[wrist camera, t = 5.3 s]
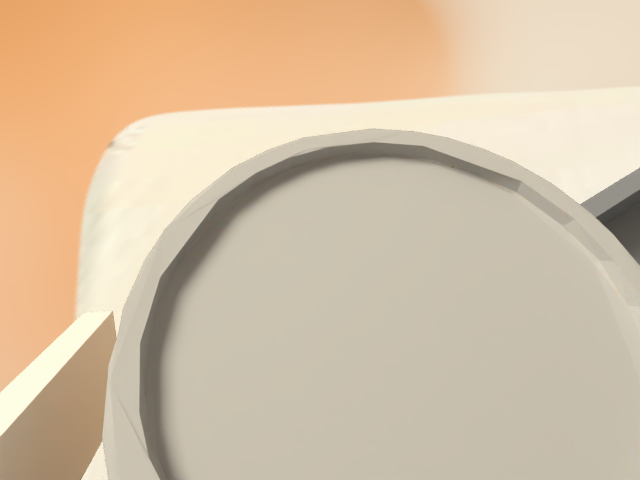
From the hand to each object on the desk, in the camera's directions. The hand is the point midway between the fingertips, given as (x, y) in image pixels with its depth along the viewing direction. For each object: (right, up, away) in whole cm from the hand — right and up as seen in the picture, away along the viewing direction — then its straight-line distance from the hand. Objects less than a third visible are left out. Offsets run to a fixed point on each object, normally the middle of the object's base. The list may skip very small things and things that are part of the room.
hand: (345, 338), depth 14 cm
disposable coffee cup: (0, -5, +4) cm, 6 cm away
